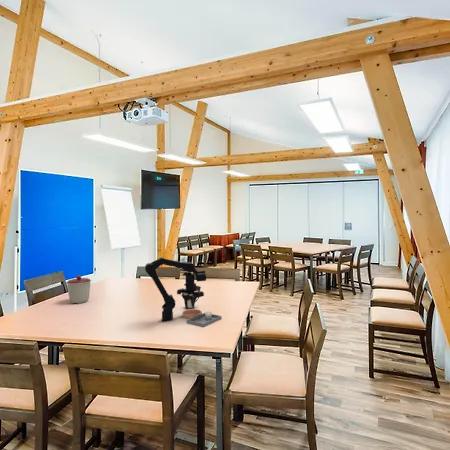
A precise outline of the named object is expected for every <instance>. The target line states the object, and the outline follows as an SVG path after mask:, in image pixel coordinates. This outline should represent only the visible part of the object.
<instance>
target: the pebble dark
mask: <svg viewBox="0 0 450 450" xmlns="http://www.w3.org/2000/svg"><path fill="white" fill-rule="evenodd" d="M204 313H205V320H211V319H212V314H213V313H212V311H206V312H204Z"/></svg>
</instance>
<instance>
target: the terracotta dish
mask: <svg viewBox="0 0 450 450" xmlns="http://www.w3.org/2000/svg"><path fill="white" fill-rule="evenodd" d="M201 314H203V311H202V310H201V309H196V308H193V309H186V310H184V311H182V313H181V315H182V318H183V319H186V320H189V319H191V318H194V317H196V316H199V315H201Z"/></svg>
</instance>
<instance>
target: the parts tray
mask: <svg viewBox="0 0 450 450" xmlns="http://www.w3.org/2000/svg"><path fill="white" fill-rule="evenodd" d="M221 320H222V315H218V314H213V313H212V319H211V320H205V312H204V313H202V314H201V315H199V316H196V317H194V318H191V319H186V324H187V325H192V326H197V327H201V328H205V327H206V326H209V325H212V324H214V323H216V322H218V321H221Z"/></svg>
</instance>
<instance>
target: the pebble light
mask: <svg viewBox="0 0 450 450" xmlns="http://www.w3.org/2000/svg"><path fill="white" fill-rule="evenodd" d="M187 307H188V308H192V304H191V300H187Z"/></svg>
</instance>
